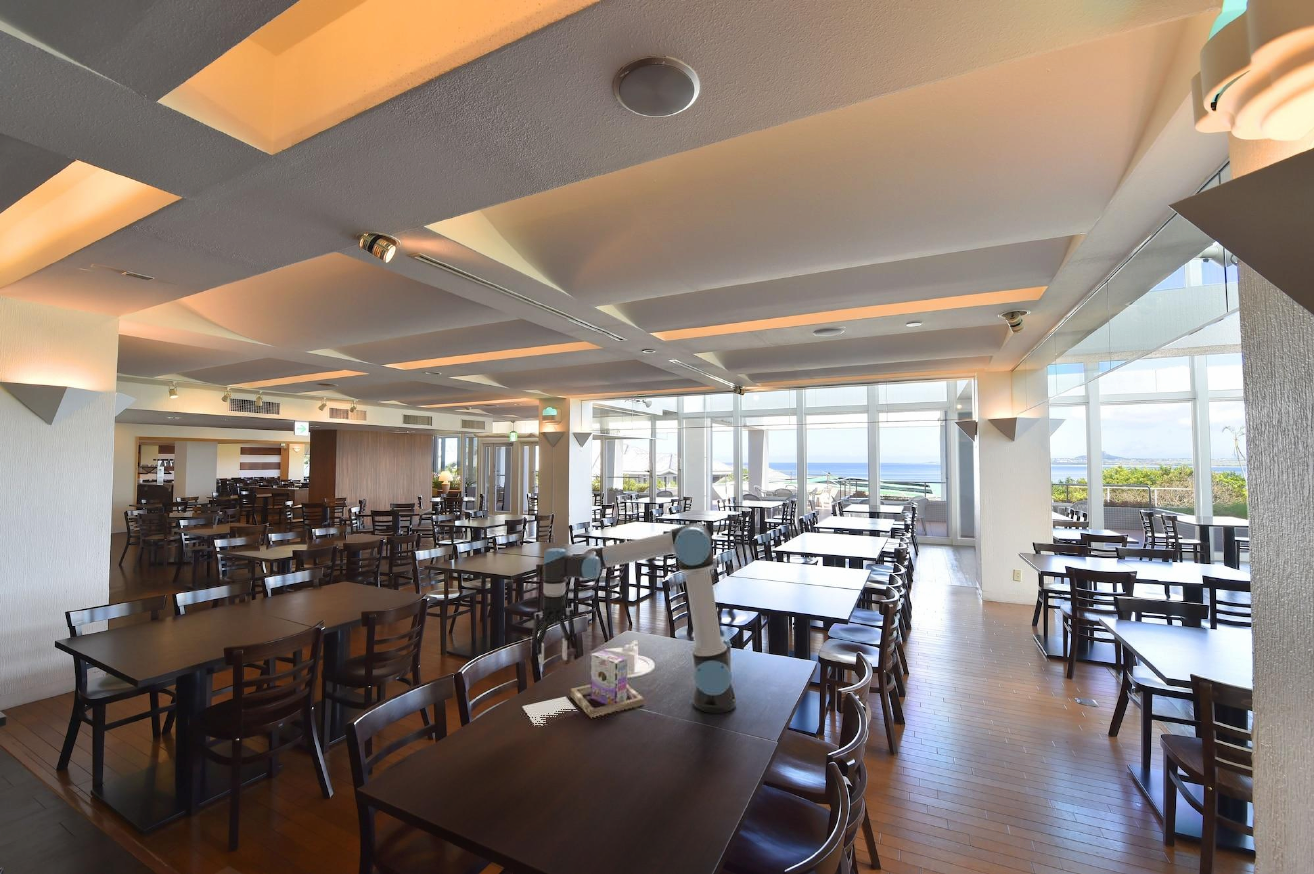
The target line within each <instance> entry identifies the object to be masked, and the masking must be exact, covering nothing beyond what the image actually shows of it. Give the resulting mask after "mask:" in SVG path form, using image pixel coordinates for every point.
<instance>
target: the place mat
mask: <svg viewBox="0 0 1314 874" xmlns="http://www.w3.org/2000/svg"><path fill="white" fill-rule="evenodd" d="M521 707H522V709H523V710H524V712H525V713H527V714H526V715H527V716H529V717H530V718H529V717H528V718H529V719H530V721H531V722H532V724H533V723H534V724H533V726H535V725H541V726H544V725H543V724H538V723H546V722H543V721H546V720H541V719H546V718H540V717H549V716H546V715H558V714H554V713H562V712H558V711H571V710H563V709H577V708H576V707H575V706H574V704H573V703H572V702H571V701H570V700H569V699H568V698H567V696H562V697H559V698H553V699H548V700H544V701H539V702H535V703H531V704H527V705H523V706H521ZM561 709H562V710H561ZM556 711H557V712H556ZM573 711H578V709H577V710H573ZM548 713H549V714H548ZM563 713H564V712H563ZM541 715H542V716H541ZM543 715H545V716H543ZM532 717H533V718H532ZM535 717H536V718H535ZM550 717H552V716H550ZM553 717H554V716H553ZM555 717H556V716H555ZM535 719H536V720H535ZM537 721H538V722H537ZM539 721H540V722H539ZM535 723H537V724H535Z"/></svg>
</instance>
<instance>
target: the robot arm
mask: <svg viewBox="0 0 1314 874" xmlns="http://www.w3.org/2000/svg"><path fill="white" fill-rule="evenodd" d="M543 555H544V556H543V599H542V600H543V601H542V610H541V611H540V612H534V613H533V618H534V621H533V627H532V633H531V635H532V636H531V642H532V643H533V644H535V645H536V653H537V654H538V658H539V660H538V661H539V662H538V663H540V664H541V665H544V664H545V644H544V643H543V642H544V640H545V636H546V634H547V631H548V630H549V629H548V628H549V626H551V623H554V622H558V624H559V626H560V629H561V632H562V634H563V637H564V638H562V643H561V645H562V647H561V648H562V650H561V652H562V653H561V655H562V656H561V657H562V659H563V660H564V661H567V660H568V650H569V649H570V648H571V647H570V645H571V644H570V642H571V640H572V639H573V638H575V637H576V632H575V623H574V609H573V608H571V607H569V608H568V607H567V608H566V594H565V593H566V579H567V578H572V579H573V578H574V579H575V578H576V579H588V580H589V579H597V578H599V577H600V573H601V570H602V569H606V568H610V567H614V566H615V567H616V566H619V565H625V564H630V563H635V562H639V561H645V560H649V559H654V558H659V557H663V556H668V555H669V556H670V555H674V556H676V557H677V561H678V566H679V567H678V569H679V571H681V572H682V573H683V574H684V576H685V583H686V590H687V595H688V596H687V597H688V602H689V609H690V610H689V611H690V615H691V616H690V617H691V622H692V628H693V634H694V641H695V646H694V647H693V649H692V658H693V659H692V660H693V664H694V665H693V666H694V673H693V674H694V676H693V677H694V683H695V684H696V685H695V689H694V692H693V694H692V704H693V706H694V708H696V709H698V710H699V711H702V712H705V713H708V714H724V713H729V712H731V711H733V710H734V709H735V708H736V705H737V703H736V701H737V700H736V695H735V692H734V688H733V685H732V666H731V665H732V664H731V663H732V662H731V661H732V657H731V656H732V655H731V651H732V649H731V648H732V646H731V640H730V639H729V638H727V637H726V636H725V637H724V636H722V635H721V630H720V625H719V624H720V623H719V619H718V612H717V611H718V610H717V606H716V598H715V592H714V586H713V581H712V573H711V569H712V568H713V566H714V558H713V557H714V556H713V550H712V536H711V533H710V531H709V530H708V528H707V527H706V526H705V525H703V524H700V523H697V522H693V523H692V522H691V523H688V524H686V525H682V526H679V527H676V528H672V529H670V530H669V532H667V533H663V534H662V533H661V534H657V535H654V536H649V537H648V536H646V537H643V538H640V539H638V538H637V539H634V540H630V541H625V542H620V543H616V544H611V545H606V546H603V547H598V548H597V547H593V548H589V549H588V550H586V551H585V552H583V553H582V554H580V555H570V554H567V550H566V549H564V548H561V547H560V548H559V547H557V548H556V547H553V548H547V549H546V550H545V551H544V554H543ZM565 613H566V616H567V624H568V625H567V626H568V629H567V626H566V624H565V620H564V618H563V617H564V615H565ZM542 616H543V617H544V619H543V624H542V626H541V629H540V625H541V620H542ZM539 631H540V632H539ZM728 711H729V712H728Z"/></svg>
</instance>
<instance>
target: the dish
mask: <svg viewBox="0 0 1314 874" xmlns="http://www.w3.org/2000/svg"><path fill="white" fill-rule="evenodd" d="M638 644H639V643H638V640H633V641H632V642H631V643H629V644H624V646H623V647H613V648H604V649H603V651H605V652H608V653H610V654H613V655H616V656H619V657H622V658H625V659H627V679H633V678H638V677H639V678H640V677H643V676H646V675H647V674H650V673H651V672H653V671H654V670H655V666H656V664H655V661H653V660H652V659H651V658H649V657H647V656H643V655H639V645H638Z"/></svg>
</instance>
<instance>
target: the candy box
mask: <svg viewBox="0 0 1314 874" xmlns="http://www.w3.org/2000/svg"><path fill="white" fill-rule="evenodd" d="M590 685H591V694H590V699H593V700H594V701H597V702H599V703H600V704H604V705H605V706H606V705H610V704H614V703H618V702H623V701H627V700H628V699H627V698H628V696H627V685H628V678H627V659H625V658H622V657H619V656H616V655H613V654H610V653H608V652H605V651H604V650H599V651H597V652H593V653H591V654H590Z"/></svg>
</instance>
